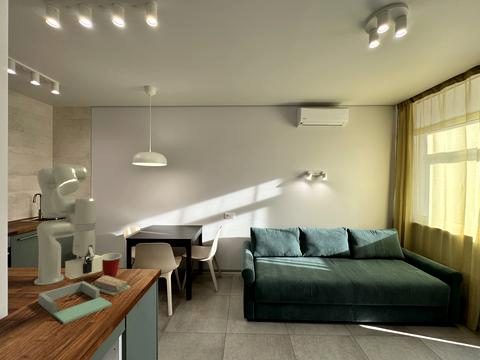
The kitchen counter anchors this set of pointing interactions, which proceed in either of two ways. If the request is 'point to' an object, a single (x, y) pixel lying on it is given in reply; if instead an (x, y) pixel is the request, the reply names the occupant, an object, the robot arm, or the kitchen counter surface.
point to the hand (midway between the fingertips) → (84, 271)
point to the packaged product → (111, 285)
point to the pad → (81, 310)
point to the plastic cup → (110, 264)
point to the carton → (81, 267)
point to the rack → (65, 294)
